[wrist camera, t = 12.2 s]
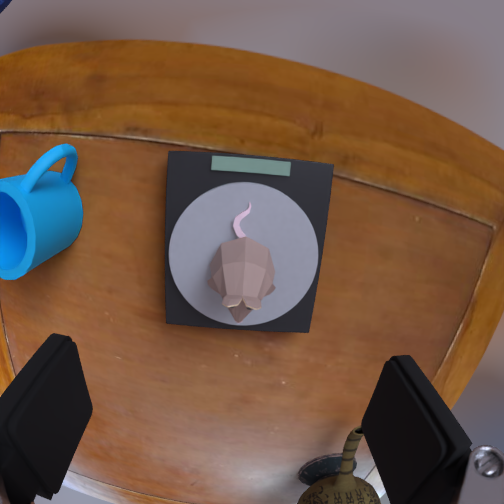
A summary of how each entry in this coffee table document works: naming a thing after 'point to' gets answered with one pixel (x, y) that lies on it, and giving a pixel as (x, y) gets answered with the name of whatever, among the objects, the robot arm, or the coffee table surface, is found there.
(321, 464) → the teapot
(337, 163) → the coffee table surface
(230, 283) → the mouse figurine
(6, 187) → the mug
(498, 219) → the coffee table surface
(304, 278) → the kitchen scale
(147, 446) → the coffee table surface
